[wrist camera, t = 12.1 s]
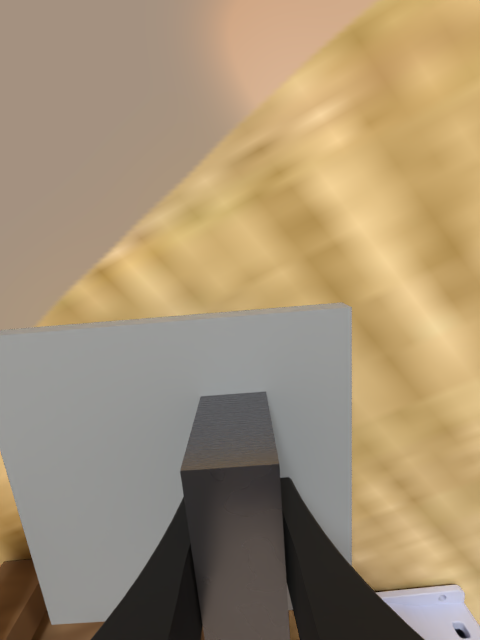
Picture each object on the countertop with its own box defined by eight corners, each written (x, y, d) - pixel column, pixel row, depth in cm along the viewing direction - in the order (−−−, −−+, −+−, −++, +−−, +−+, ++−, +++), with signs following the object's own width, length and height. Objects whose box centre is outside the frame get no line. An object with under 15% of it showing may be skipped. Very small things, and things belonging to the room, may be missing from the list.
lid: (342, 302, 12) (415, 338, 7) (344, 582, 15) (395, 747, 10) (-11, 331, 12) (-185, 385, 7) (63, 600, 15) (-22, 768, 10)
